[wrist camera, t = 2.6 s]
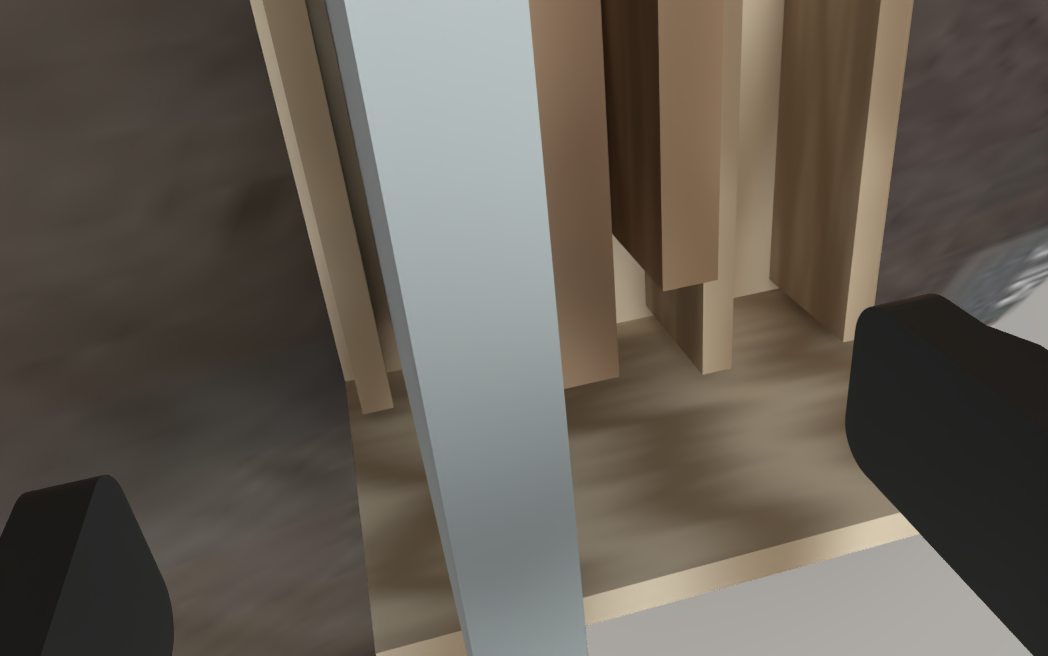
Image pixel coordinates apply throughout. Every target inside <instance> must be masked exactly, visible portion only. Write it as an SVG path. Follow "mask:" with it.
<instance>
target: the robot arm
mask: <svg viewBox="0 0 1048 656" xmlns="http://www.w3.org/2000/svg"><path fill="white" fill-rule="evenodd" d="M845 430H846V436H847V440H848V444H849V447H850V450H851V453H852V455H853V457H854V459H855V461H856V463H857V465H858V466H859V468H860V469H861V470H862V472H863V473H864V474H865V475H866V476H867V477H868V478H869V480H870V481H871V482H872V483H873V484H874V485H875V486H876V487H877V488H878V489H879V490H880V491H881V492H882V493H883V495H884V496H885V497H886V498H887V499H888V500H889V501H890V502H891V503H892V504H893V505H894V506H895V507H896V509H897V510H898V511H899V512H900V513H901V514H902V515H903V516H904V517H905V518H906V519H907V520H908V521H909V523H910V524H911V525H912V526H913V527H914V528H915V529H916V530H917V531H918V532H919V533H920V534H921V535H922V536H923V538H925V540H926V541H927V542H928V543H929V544H930V545H931V546H932V547H933V548H934V549H935V550H936V551H937V553H938V554H939V555H940V556H941V557H942V558H943V559H944V560H945V561H946V562H947V563H948V564H949V565H950V567H951V568H952V569H953V570H954V571H955V572H956V573H957V574H958V575H959V576H960V577H961V578H962V579H963V581H964V582H965V583H966V584H967V585H968V586H969V587H970V588H971V589H972V590H973V591H974V592H975V593H976V595H977V596H978V597H979V598H980V599H981V600H982V601H983V602H984V603H985V604H986V605H987V606H988V607H989V608H990V610H991V611H992V612H993V613H994V614H995V615H996V616H997V617H998V618H999V619H1000V620H1001V621H1002V622H1003V624H1004V625H1006V627H1007V628H1008V629H1009V630H1010V631H1011V632H1012V633H1013V634H1014V635H1015V636H1016V637H1017V638H1018V639H1019V641H1020V642H1021V643H1022V644H1023V645H1024V646H1025V647H1026V648H1027V649H1028V650H1029V651H1030V653H1032V655H1033V656H1048V350H1047V349H1045V348H1044V347H1042V346H1041V345H1038V344H1036V343H1033V342H1030V341H1028V340H1025V339H1022V338H1019V337H1017V336H1014V335H1011V334H1008V333H1006V332H1003V331H1000V330H998V329H995V328H992V327H989V326H986V325H985V324H983V323H982V322H980V321H979V320H977V319H976V318H974V317H973V316H971V315H970V314H968V313H967V312H965V311H964V310H962V309H961V308H959V307H958V306H956V305H955V304H953V303H952V302H950V301H949V300H948V299H946V298H944V297H942V296H940V295H937V294H926V295H921V296H917V297H912V298H908V299H903V300H899V301H894V302H890V303H885V304H881V305H876V306H872V307H868V308H866V309H865V310H863V312H862V313H861V314H860V316H859V317H858V320H857V323H856V328H855V335H854V344H853V353H852V362H851V370H850V379H849V388H848V397H847V406H846V414H845ZM173 641H174V625H173V614H172V607H171V602H170V598H169V594H168V590H167V587H166V585H165V582H164V580H163V577H162V575H161V573H160V571H159V569H158V567H157V564H156V562H155V560H154V558H153V556H152V553H151V551H150V549H149V547H148V545H147V542H146V540H145V538H144V536H143V534H142V532H141V529H140V527H139V525H138V523H137V521H136V518H135V516H134V514H133V512H132V510H131V507H130V505H129V503H128V501H127V499H126V497H125V494H124V492H123V490H122V488H121V487H120V485H119V484H118V482H117V481H116V480H115V479H114V478H113V477H111V476H110V475H102V476H98V477H93V478H89V479H84V480H80V481H75V482H71V483H66V484H62V485H57V486H53V487H48V488H44V489H39V490H35V491H30V492H26V493H24V494H22V495H21V496H20V497H19V498H18V500H17V501H16V503H15V505H14V507H13V510H12V512H11V514H10V517H9V519H8V521H7V523H6V526H5V528H4V530H3V533H2V535H1V537H0V656H172V650H173Z"/></svg>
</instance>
